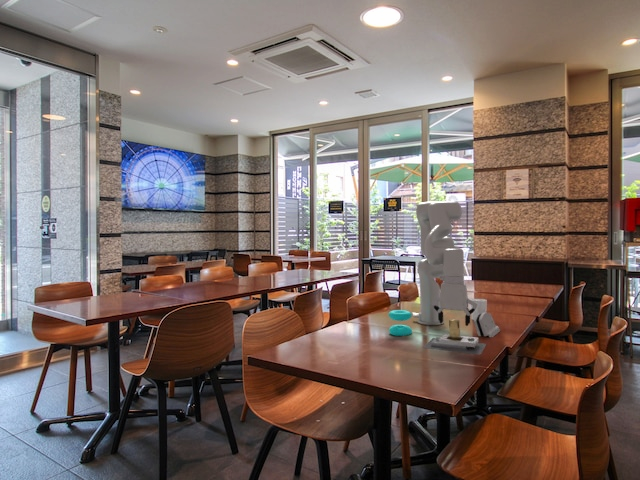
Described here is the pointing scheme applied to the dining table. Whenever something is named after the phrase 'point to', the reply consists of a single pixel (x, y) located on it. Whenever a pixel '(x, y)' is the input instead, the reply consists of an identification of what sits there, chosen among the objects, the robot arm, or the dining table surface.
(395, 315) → the donuts
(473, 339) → the grey block with hole
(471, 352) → the mat
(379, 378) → the dining table surface
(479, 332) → the white slotted device
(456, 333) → the brass pin
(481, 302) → the white cup
